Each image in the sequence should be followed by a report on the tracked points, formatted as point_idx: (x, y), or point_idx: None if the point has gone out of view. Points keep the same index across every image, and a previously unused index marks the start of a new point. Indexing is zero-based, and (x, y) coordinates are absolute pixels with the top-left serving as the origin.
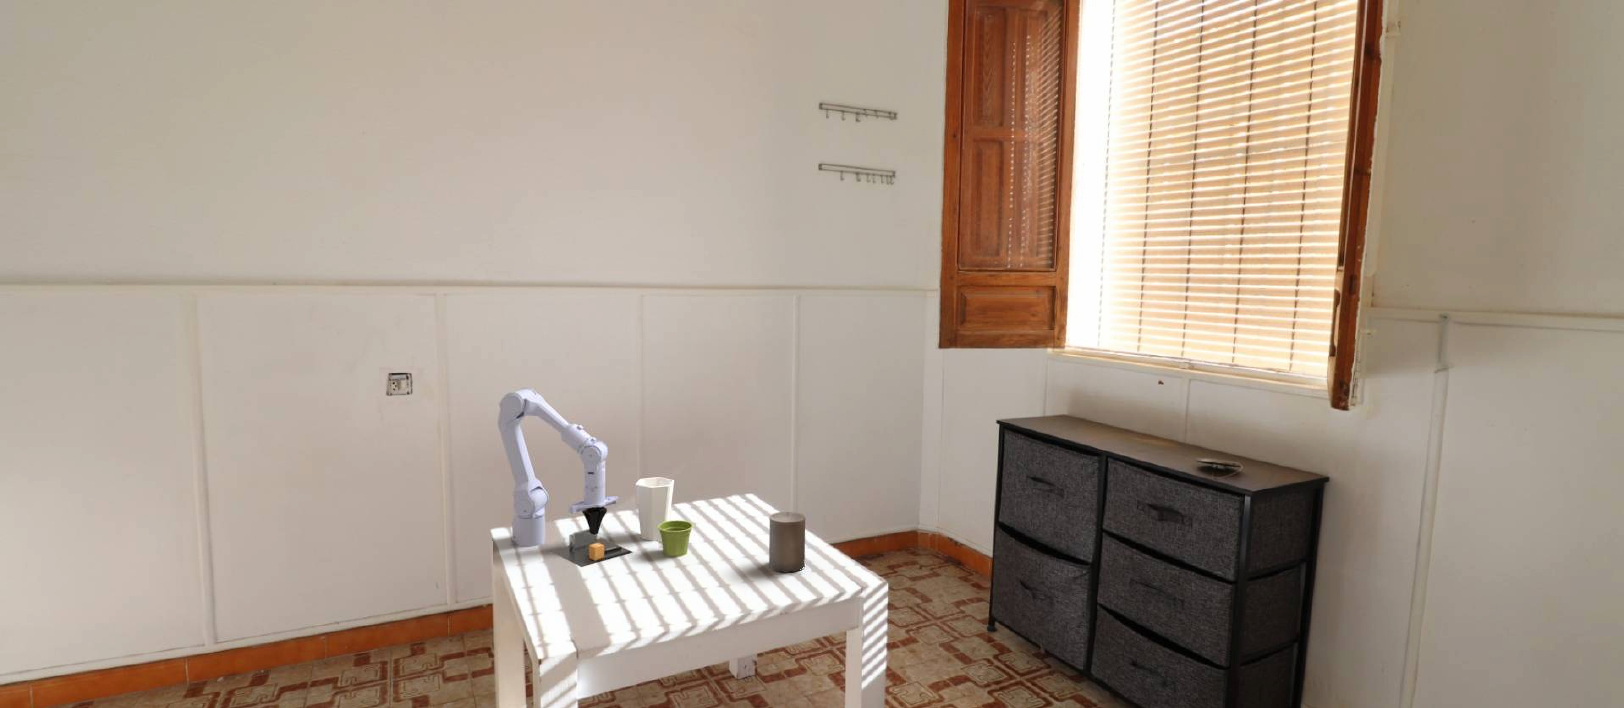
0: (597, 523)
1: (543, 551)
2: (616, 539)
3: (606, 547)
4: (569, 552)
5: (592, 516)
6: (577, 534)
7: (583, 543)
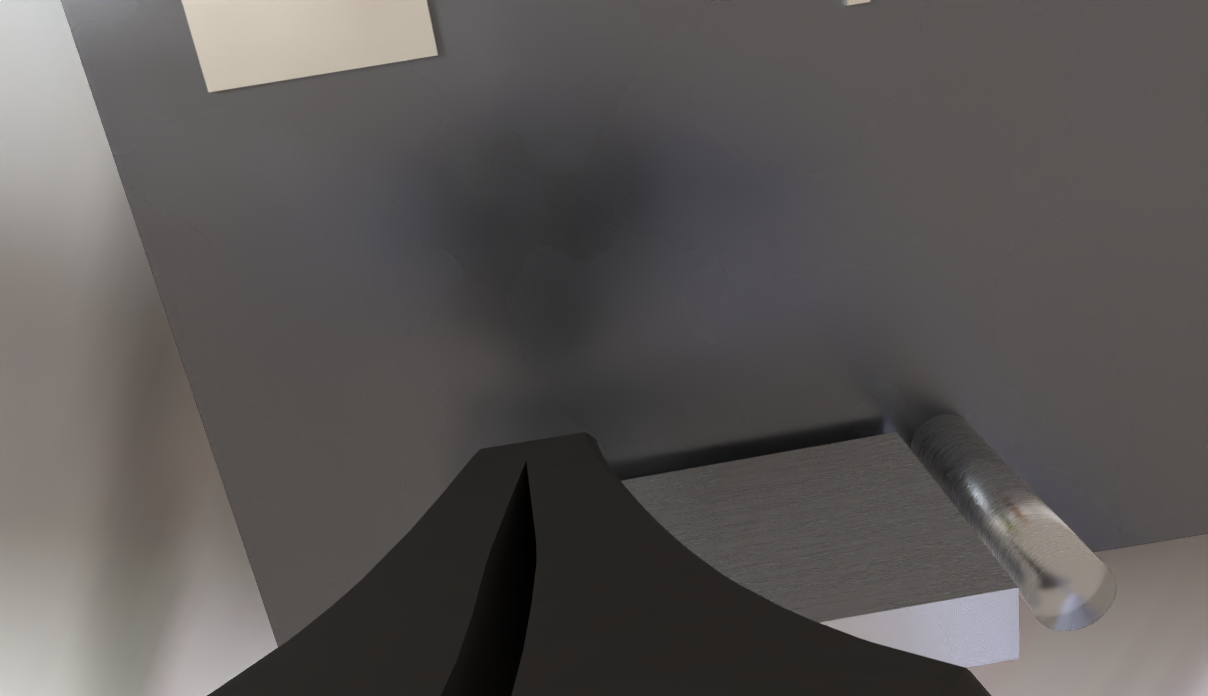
0: (495, 580)
1: (1184, 658)
2: (42, 608)
3: (377, 185)
4: (1051, 308)
5: (878, 652)
6: (936, 576)
7: (730, 479)
